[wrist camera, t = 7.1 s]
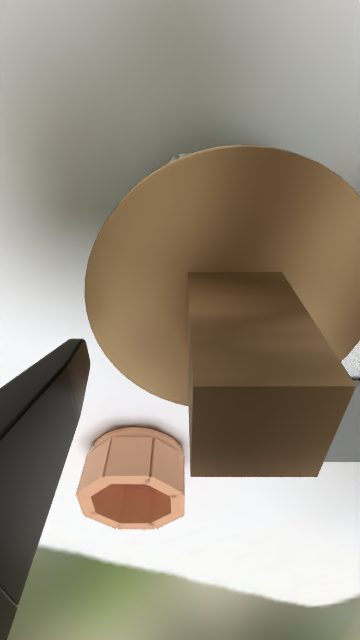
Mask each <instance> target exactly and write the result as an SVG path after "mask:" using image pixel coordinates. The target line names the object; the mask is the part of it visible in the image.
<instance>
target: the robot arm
mask: <svg viewBox="0 0 360 640" xmlns="http://www.w3.org/2000/svg"><path fill="white" fill-rule="evenodd" d="M89 371H90V359H89V354H88V349H87V345H86V342H85V340H84V339H69V340H67V341H66V342H65V343H63V344H62V345H60V346H59V347H58V348H56V349H55V350H53V351H52V352H51V353H49V354H48V355H46V356H45V357H44V358H42V359H41V360H39V361H38V362H36V363H35V364H34V365H32V366H31V367H29V368H28V369H27V370H25V371H24V372H22V373H21V374H20V375H18V376H17V377H15V378H14V379H13V380H11V381H10V382H8V383H7V384H6V385H4V386H3V387H1V388H0V640H7V638H8V635H9V632H10V629H11V626H12V623H13V619H14V617H15V614H16V611H17V608H18V607H17V605H18V604H19V601H20V598H21V595H22V592H23V589H24V586H25V583H26V580H27V577H28V574H29V571H30V567H31V565H32V562H33V559H34V556H35V553H36V549H37V546H38V543H39V540H40V537H41V534H42V531H43V528H44V525H45V522H46V519H47V516H48V513H49V510H50V507H51V504H52V501H53V498H54V495H55V492H56V489H57V486H58V483H59V479H60V476H61V473H62V470H63V467H64V464H65V461H66V458H67V455H68V452H69V449H70V446H71V443H72V440H73V437H74V434H75V431H76V428H77V425H78V422H79V418H80V415H81V410H82V406H83V401H84V396H85V391H86V386H87V381H88V376H89Z"/></svg>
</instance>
